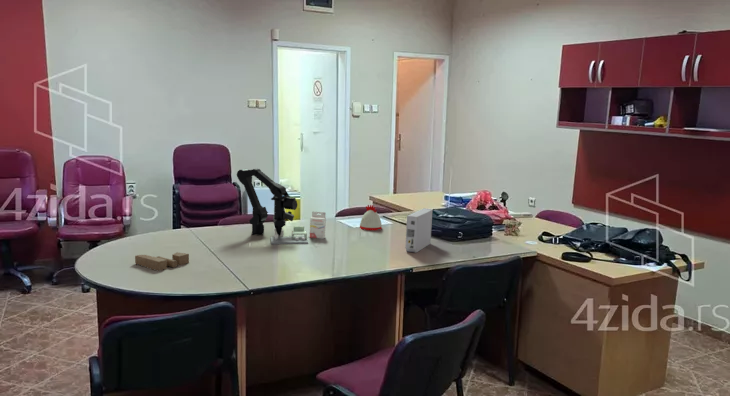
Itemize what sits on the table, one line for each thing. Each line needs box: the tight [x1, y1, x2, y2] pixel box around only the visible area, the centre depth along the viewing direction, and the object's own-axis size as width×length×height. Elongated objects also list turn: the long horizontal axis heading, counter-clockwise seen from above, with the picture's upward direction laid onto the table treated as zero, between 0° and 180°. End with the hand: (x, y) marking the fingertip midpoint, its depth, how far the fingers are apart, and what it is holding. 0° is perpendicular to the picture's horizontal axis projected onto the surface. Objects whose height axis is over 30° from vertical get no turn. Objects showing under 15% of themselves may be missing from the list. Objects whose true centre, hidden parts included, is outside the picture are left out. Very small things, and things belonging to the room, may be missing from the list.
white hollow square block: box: [273, 228, 285, 236], centre depth 315 cm, size 5×5×4 cm
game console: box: [404, 207, 433, 254], centre depth 300 cm, size 6×27×20 cm, turn 155°
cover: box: [291, 225, 308, 240], centre depth 309 cm, size 8×7×6 cm
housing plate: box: [270, 234, 309, 245], centre depth 305 cm, size 20×14×4 cm
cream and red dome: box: [359, 204, 383, 231], centre depth 346 cm, size 14×14×15 cm
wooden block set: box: [134, 251, 190, 272], centre depth 252 cm, size 17×6×18 cm
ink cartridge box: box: [309, 211, 327, 239], centre depth 315 cm, size 9×5×15 cm, turn 84°
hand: (278, 234), depth 315 cm, fingers closed on white hollow square block, 5 cm apart
